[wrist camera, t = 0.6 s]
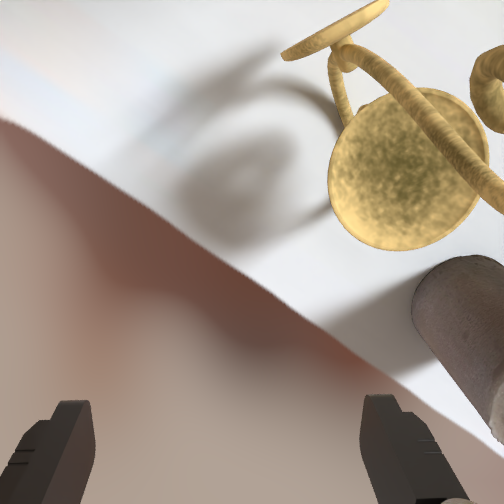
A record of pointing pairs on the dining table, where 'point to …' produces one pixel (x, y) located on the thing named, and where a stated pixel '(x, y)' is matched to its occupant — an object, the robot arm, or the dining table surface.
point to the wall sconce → (407, 144)
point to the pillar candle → (467, 329)
